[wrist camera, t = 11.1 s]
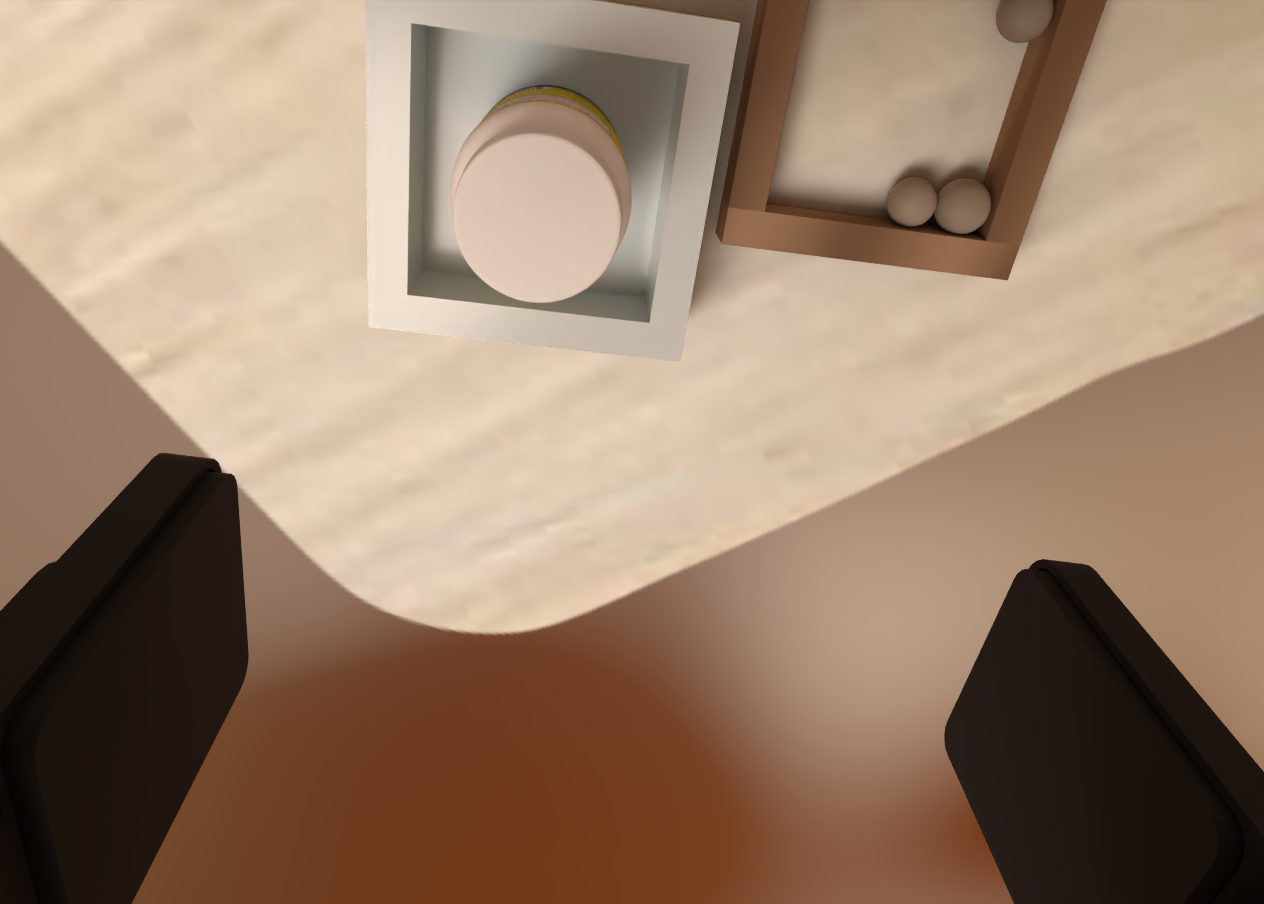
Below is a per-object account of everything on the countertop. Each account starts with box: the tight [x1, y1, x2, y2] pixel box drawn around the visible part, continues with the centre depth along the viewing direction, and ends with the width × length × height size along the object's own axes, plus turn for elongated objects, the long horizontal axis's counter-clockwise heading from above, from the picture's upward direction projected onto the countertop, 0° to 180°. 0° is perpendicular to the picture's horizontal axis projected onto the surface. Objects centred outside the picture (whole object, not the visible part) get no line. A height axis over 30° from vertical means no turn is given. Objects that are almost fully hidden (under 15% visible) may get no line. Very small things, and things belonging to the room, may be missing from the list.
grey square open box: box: [365, 0, 740, 362], centre depth 27 cm, size 10×10×4 cm
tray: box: [716, 0, 1107, 280], centre depth 27 cm, size 10×10×2 cm
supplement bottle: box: [450, 85, 632, 303], centre depth 24 cm, size 5×5×8 cm
